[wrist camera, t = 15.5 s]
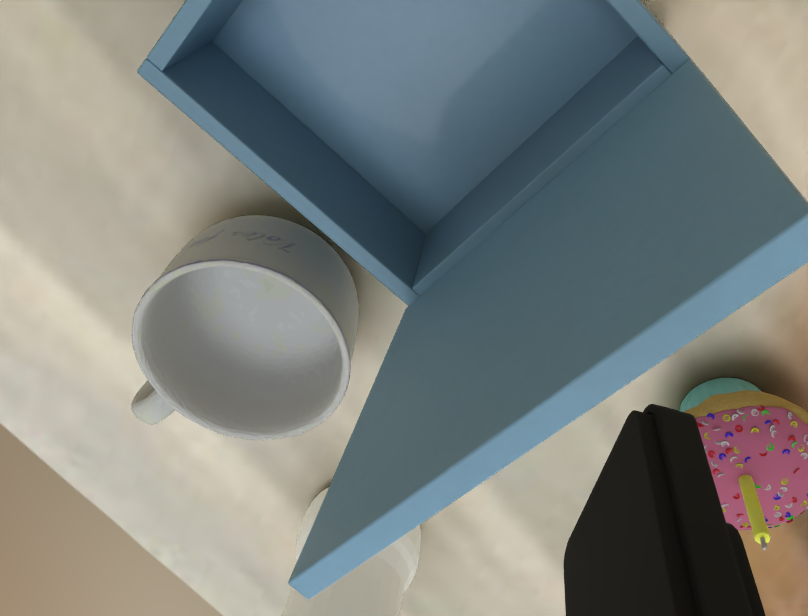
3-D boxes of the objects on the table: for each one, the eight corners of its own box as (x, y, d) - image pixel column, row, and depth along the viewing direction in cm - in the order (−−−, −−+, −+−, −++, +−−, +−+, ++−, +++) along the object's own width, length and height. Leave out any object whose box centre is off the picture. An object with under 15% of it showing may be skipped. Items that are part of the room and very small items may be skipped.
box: (196, 38, 37) (135, 72, 31) (410, -259, 30) (383, -287, 24) (427, 246, 41) (412, 310, 35) (665, 27, 34) (694, 63, 28)
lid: (286, 583, 20) (308, 601, 21) (812, 210, 13) (840, 241, 14) (404, 309, 35) (417, 321, 35) (690, 58, 28) (704, 74, 28)
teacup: (314, 163, 39) (271, 227, 33) (407, 326, 44) (386, 413, 37) (113, 256, 44) (38, 329, 37) (215, 396, 48) (164, 484, 42)
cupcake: (620, 392, 44) (649, 553, 34) (760, 322, 41) (840, 478, 30) (694, 485, 47) (741, 660, 37) (831, 427, 43) (926, 602, 33)
